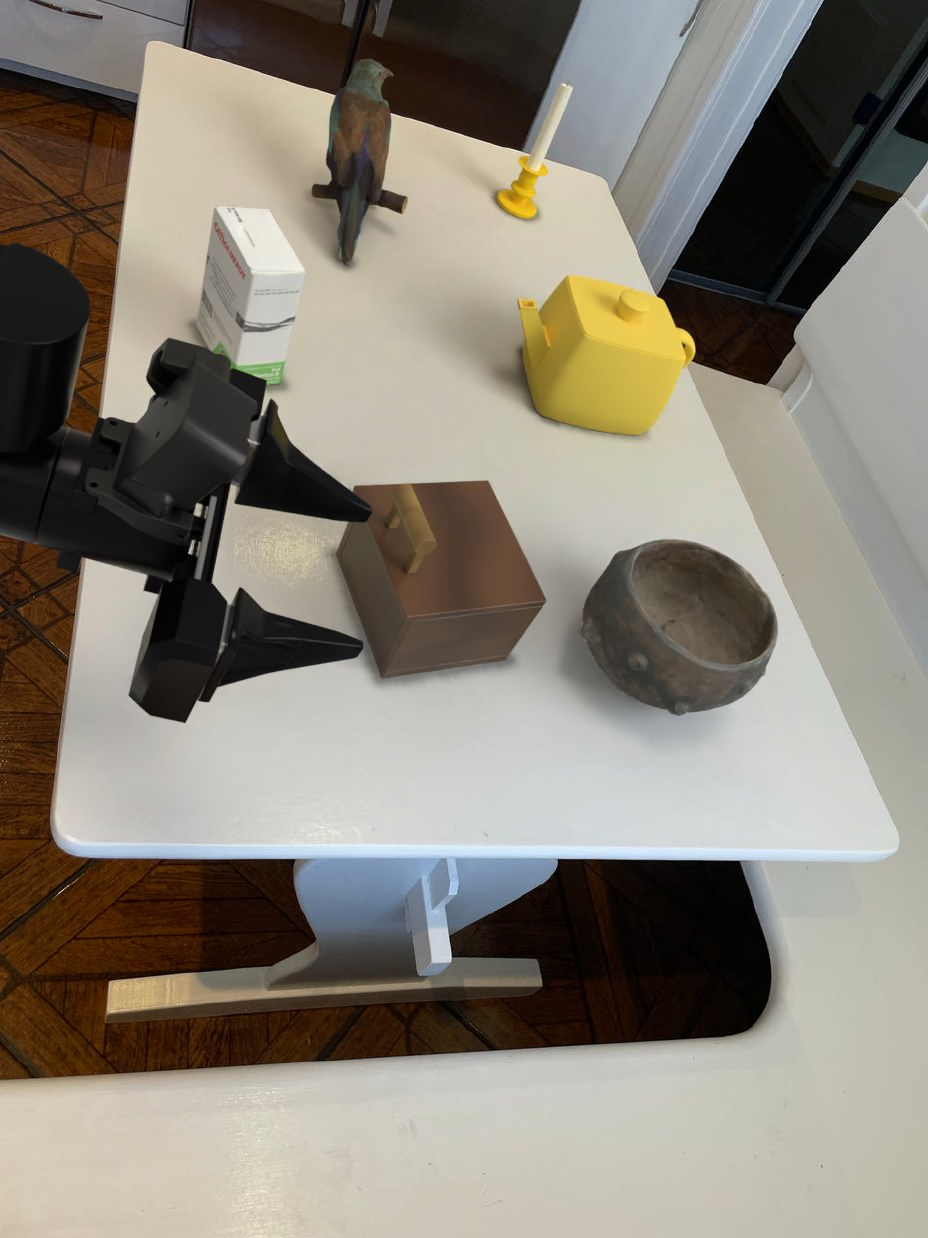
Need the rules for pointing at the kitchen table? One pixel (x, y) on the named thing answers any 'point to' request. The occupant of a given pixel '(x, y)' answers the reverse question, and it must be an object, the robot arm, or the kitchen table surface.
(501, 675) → the kitchen table surface
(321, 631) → the robot arm
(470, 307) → the kitchen table surface
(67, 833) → the kitchen table surface
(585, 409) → the teapot
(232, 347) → the ink box
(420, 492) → the lid
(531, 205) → the candle
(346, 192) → the bird figurine
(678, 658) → the bowl
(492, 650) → the chest
